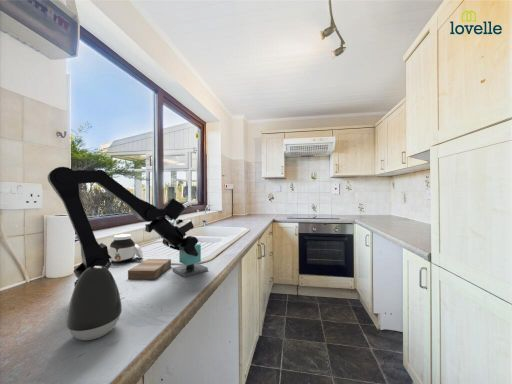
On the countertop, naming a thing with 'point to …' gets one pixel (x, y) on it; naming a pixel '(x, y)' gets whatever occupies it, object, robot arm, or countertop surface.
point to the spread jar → (124, 249)
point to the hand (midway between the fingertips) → (193, 253)
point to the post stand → (189, 269)
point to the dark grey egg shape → (94, 304)
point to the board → (149, 269)
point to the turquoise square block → (190, 256)
